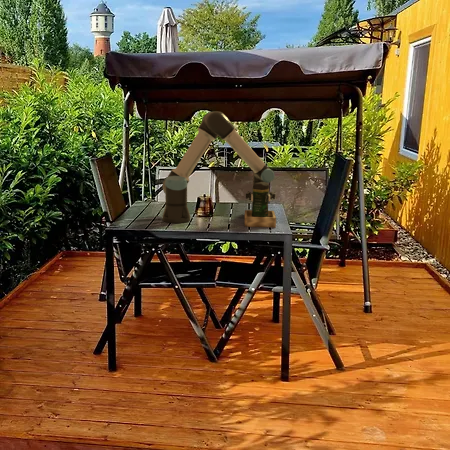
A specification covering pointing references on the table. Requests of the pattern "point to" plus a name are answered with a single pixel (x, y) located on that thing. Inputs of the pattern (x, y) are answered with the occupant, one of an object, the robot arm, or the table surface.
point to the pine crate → (260, 220)
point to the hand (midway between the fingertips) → (260, 198)
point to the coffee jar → (260, 199)
